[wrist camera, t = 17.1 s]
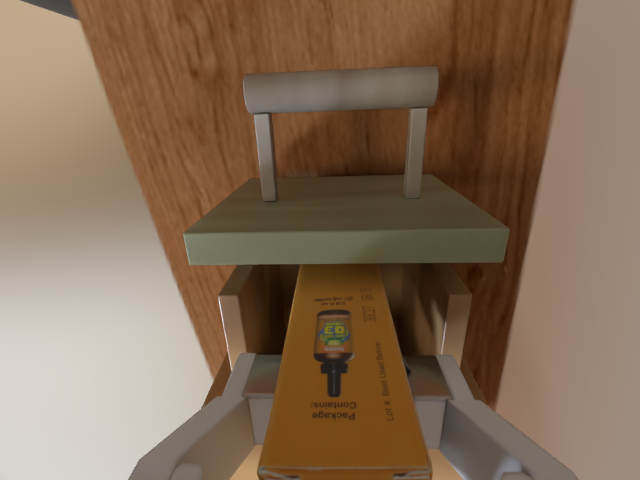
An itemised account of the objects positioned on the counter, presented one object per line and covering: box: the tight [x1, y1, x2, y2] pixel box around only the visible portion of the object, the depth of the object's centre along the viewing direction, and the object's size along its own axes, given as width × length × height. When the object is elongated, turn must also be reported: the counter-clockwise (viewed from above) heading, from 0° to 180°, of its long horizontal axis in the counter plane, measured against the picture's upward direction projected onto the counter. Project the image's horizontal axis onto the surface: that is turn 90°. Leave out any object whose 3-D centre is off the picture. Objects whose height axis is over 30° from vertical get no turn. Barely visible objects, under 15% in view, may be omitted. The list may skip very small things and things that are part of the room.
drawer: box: [183, 66, 510, 371], centre depth 16 cm, size 18×10×9 cm, turn 2°
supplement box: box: [257, 263, 433, 480], centre depth 11 cm, size 3×3×10 cm
